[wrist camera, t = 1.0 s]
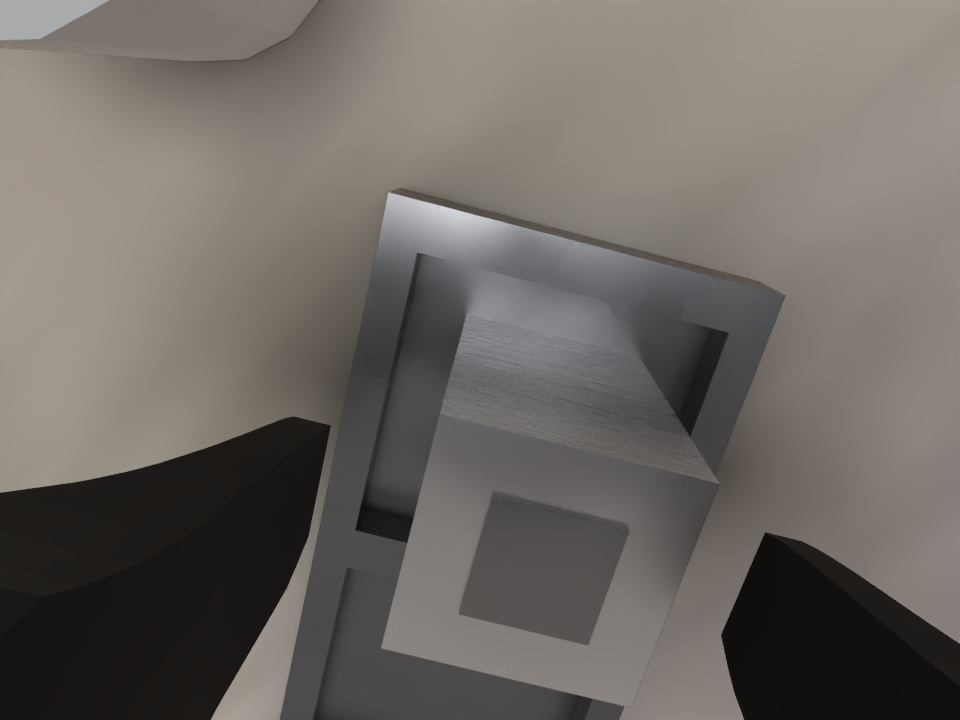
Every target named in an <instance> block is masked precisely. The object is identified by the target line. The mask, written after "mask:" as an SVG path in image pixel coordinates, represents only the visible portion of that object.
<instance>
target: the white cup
mask: <svg viewBox="0 0 960 720" xmlns="http://www.w3.org/2000/svg"><path fill="white" fill-rule="evenodd" d="M318 1H319V0H0V48H8V49H23V50H37V51H52V52H66V53H80V54H95V55H109V56H124V57H138V58H152V59H167V60H181V61H219V60H246V59H248V58H250V57H251V56H253V55H255V54H257V53H259V52H261V51H263V50H265V49H267V48H269V47H271V46H273V45H275V44H277V43H279V42H281V41H282V40H284V39H286V38H288V37H290V36H292V35H293V33H294V32H295V31H296V29H297V28H298V27H299V26H300V24H301V23H302V22H303V21H304V19H305V18H306V17H307V15H308V14H309V13H310V12H311V10H312V9H313V8H314V6H315V5H316V4H317V3H318Z"/></svg>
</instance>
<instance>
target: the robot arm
mask: <svg viewBox="0 0 960 720" xmlns="http://www.w3.org/2000/svg"><path fill="white" fill-rule="evenodd" d="M330 427H331V426H330V425H326V424H322V423H318V422H314V421H310V420H306V419H302V418H298V417H289V418H285V419H282V420H279V421H277V422H274V423H271V424H269V425H266V426H264V427H261V428H259V429H256V430H254V431H251V432H248V433H246V434H243V435H241V436H238V437H235V438H233V439H230V440H227V441H225V442H222V443H220V444H217V445H214V446H211V447H208V448H205V449H202V450H199V451H196V452H193V453H190V454H187V455H184V456H180V457H177V458H174V459H171V460H168V461H165V462H162V463H159V464H155V465H151V466H148V467H144V468H140V469H136V470H132V471H128V472H124V473H119V474H114V475H110V476H105V477H101V478H96V479H91V480H86V481H80V482H75V483H68V484H60V485H53V486H46V487H39V488H32V489H25V490H18V491H11V492H3V493H0V720H211V718H212V716H213V714H214V712H215V710H216V708H217V707H218V705H219V703H220V702H221V700H222V698H223V696H224V695H225V693H226V691H227V690H228V688H229V686H230V684H231V683H232V681H233V679H234V678H235V676H236V674H237V673H238V671H239V669H240V667H241V666H242V664H243V662H244V661H245V659H246V657H247V656H248V654H249V652H250V650H251V649H252V647H253V645H254V644H255V642H256V640H257V639H258V637H259V635H260V633H261V632H262V630H263V628H264V627H265V625H266V623H267V621H268V620H269V618H270V616H271V615H272V613H273V611H274V609H275V608H276V606H277V604H278V602H279V601H280V599H281V597H282V595H283V594H284V592H285V590H286V588H287V586H288V584H289V582H290V579H291V577H292V575H293V572H294V570H295V568H296V565H297V563H298V560H299V558H300V556H301V553H302V551H303V548H304V546H305V543H306V541H307V539H308V536H309V531H310V526H311V521H312V516H313V511H314V506H315V501H316V496H317V491H318V486H319V481H320V476H321V471H322V466H323V461H324V456H325V451H326V446H327V441H328V436H329V432H330ZM721 636H722V641H723V646H724V651H725V655H726V660H727V665H728V669H729V673H730V677H731V681H732V685H733V689H734V692H735V696H736V698H737V701H738V704H739V707H740V709H741V712H742V714H743V717H744V720H960V644H959V643H958V642H956V641H955V640H953V639H952V638H950V637H949V636H947V635H946V634H944V633H943V632H941V631H940V630H938V629H937V628H935V627H934V626H932V625H931V624H929V623H928V622H926V621H925V620H923V619H922V618H920V617H919V616H917V615H916V614H914V613H913V612H912V611H910V610H909V609H907V608H906V607H904V606H903V605H901V604H900V603H898V602H897V601H896V600H894V599H893V598H891V597H890V596H888V595H887V594H885V593H884V592H882V591H881V590H880V589H878V588H877V587H875V586H874V585H872V584H871V583H869V582H868V581H866V580H865V579H863V578H862V577H860V576H859V575H857V574H856V573H855V572H853V571H852V570H850V569H848V568H847V567H845V566H844V565H842V564H841V563H839V562H838V561H836V560H834V559H833V558H831V557H830V556H828V555H826V554H825V553H823V552H821V551H819V550H818V549H816V548H814V547H812V546H810V545H808V544H806V543H804V542H802V541H798V540H794V539H790V538H786V537H782V536H778V535H774V534H770V533H766V532H765V534H764V536H763V539H762V541H761V543H760V546H759V548H758V550H757V553H756V555H755V557H754V560H753V562H752V564H751V567H750V569H749V571H748V574H747V576H746V578H745V581H744V583H743V585H742V588H741V590H740V592H739V595H738V597H737V599H736V602H735V604H734V606H733V609H732V611H731V613H730V616H729V618H728V620H727V623H726V625H725V628H724V630H723V632H722V635H721Z"/></svg>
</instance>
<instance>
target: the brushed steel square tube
mask: <svg viewBox="0 0 960 720" xmlns="http://www.w3.org/2000/svg"><path fill="white" fill-rule="evenodd" d="M718 486H719V482H718V481H717V479H716V477H715V476H714V474H713V473H712V471H711V469H710V468H709V466H708V465H707V463H706V462H705V460H704V458H703V457H702V455H701V454H700V452H699V450H698V449H697V447H696V446H695V444H694V443H693V441H692V439H691V438H690V436H689V435H688V433H687V432H686V430H685V428H684V427H683V425H682V424H681V422H680V420H679V419H678V417H677V416H676V414H675V413H674V411H673V409H672V408H671V406H670V405H669V403H668V401H667V400H666V398H665V397H664V395H663V394H662V392H661V390H660V389H659V387H658V386H657V384H656V382H655V381H654V379H653V378H652V376H651V375H650V373H649V371H648V370H647V368H646V367H645V365H644V364H643V362H642V360H641V359H638V358H634V357H630V356H627V355H623V354H619V353H615V352H611V351H607V350H603V349H599V348H595V347H591V346H587V345H583V344H580V343H576V342H572V341H568V340H564V339H560V338H556V337H552V336H548V335H544V334H540V333H536V332H533V331H529V330H525V329H521V328H517V327H513V326H509V325H505V324H501V323H497V322H493V321H489V320H486V319H482V318H478V317H474V316H470V315H466V318H465V322H464V326H463V329H462V333H461V337H460V341H459V344H458V348H457V352H456V356H455V359H454V363H453V367H452V370H451V374H450V378H449V382H448V385H447V389H446V393H445V397H444V400H443V404H442V408H441V412H440V415H439V419H438V423H437V427H436V431H435V435H434V439H433V443H432V447H431V451H430V455H429V459H428V463H427V467H426V471H425V475H424V479H423V483H422V487H421V491H420V495H419V499H418V503H417V507H416V511H415V515H414V519H413V523H412V527H411V531H410V535H409V539H408V543H407V547H406V551H405V555H404V559H403V563H402V567H401V570H400V574H399V578H398V582H397V586H396V590H395V594H394V598H393V602H392V606H391V610H390V614H389V618H388V622H387V626H386V630H385V634H384V638H383V642H382V646H381V648H382V649H386V650H391V651H395V652H399V653H403V654H407V655H412V656H416V657H420V658H424V659H428V660H433V661H437V662H441V663H445V664H449V665H454V666H458V667H462V668H466V669H470V670H474V671H479V672H483V673H487V674H491V675H495V676H500V677H504V678H508V679H512V680H516V681H521V682H525V683H529V684H533V685H537V686H542V687H546V688H550V689H554V690H558V691H563V692H567V693H571V694H575V695H579V696H584V697H588V698H592V699H596V700H600V701H605V702H609V703H613V704H617V705H621V706H626V707H630V708H631V706H632V704H633V701H634V699H635V696H636V693H637V691H638V688H639V686H640V683H641V681H642V678H643V676H644V673H645V671H646V668H647V666H648V663H649V661H650V658H651V656H652V653H653V651H654V648H655V645H656V643H657V640H658V638H659V635H660V633H661V630H662V628H663V625H664V623H665V620H666V618H667V615H668V613H669V610H670V608H671V605H672V603H673V600H674V598H675V595H676V592H677V590H678V587H679V585H680V582H681V580H682V577H683V575H684V572H685V570H686V567H687V565H688V562H689V560H690V557H691V555H692V552H693V550H694V547H695V545H696V542H697V539H698V537H699V534H700V532H701V529H702V527H703V524H704V522H705V519H706V517H707V514H708V512H709V509H710V507H711V504H712V502H713V499H714V497H715V494H716V491H717V489H718Z"/></svg>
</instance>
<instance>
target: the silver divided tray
mask: <svg viewBox="0 0 960 720" xmlns="http://www.w3.org/2000/svg"><path fill="white" fill-rule="evenodd" d="M784 298H785V295H783V294H781V293H779V292H778V291H776V290H774V289H772V288H770V287H768V286H766V285H764V284H762V283H760V282H758V281H754V280H750V279H746V278H742V277H738V276H734V275H731V274H727V273H723V272H719V271H715V270H711V269H708V268H704V267H700V266H696V265H692V264H688V263H685V262H681V261H677V260H673V259H669V258H665V257H662V256H658V255H654V254H650V253H646V252H642V251H639V250H635V249H631V248H627V247H623V246H619V245H615V244H612V243H608V242H604V241H600V240H596V239H592V238H589V237H585V236H581V235H577V234H573V233H569V232H566V231H562V230H558V229H554V228H550V227H546V226H543V225H539V224H535V223H531V222H527V221H523V220H520V219H516V218H512V217H508V216H504V215H500V214H497V213H493V212H489V211H485V210H481V209H477V208H473V207H470V206H466V205H462V204H458V203H454V202H450V201H447V200H443V199H439V198H435V197H431V196H427V195H424V194H420V193H416V192H412V191H408V190H404V189H401V188H400V189H397V190H394V191H391V192H388V197H387V202H386V207H385V212H384V217H383V222H382V226H381V231H380V236H379V241H378V246H377V251H376V256H375V260H374V265H373V270H372V275H371V280H370V285H369V290H368V294H367V299H366V304H365V309H364V314H363V319H362V324H361V328H360V333H359V338H358V343H357V348H356V353H355V358H354V362H353V367H352V372H351V377H350V382H349V387H348V392H347V396H346V401H345V406H344V411H343V416H342V421H341V426H340V430H339V435H338V440H337V445H336V450H335V455H334V460H333V464H332V469H331V474H330V479H329V484H328V489H327V494H326V498H325V503H324V508H323V513H322V518H321V523H320V528H319V532H318V537H317V542H316V547H315V552H314V557H313V562H312V566H311V571H310V576H309V581H308V586H307V591H306V596H305V601H304V605H303V610H302V615H301V620H300V625H299V630H298V635H297V639H296V644H295V649H294V654H293V659H292V664H291V669H290V673H289V678H288V683H287V688H286V693H285V698H284V703H283V707H282V712H281V717H280V720H619V719H620V716H621V713H622V711H623V708H624V706H621V705H617V704H613V703H609V702H605V701H600V700H596V699H592V698H588V697H584V696H579V695H575V694H571V693H567V692H563V691H558V690H554V689H550V688H546V687H542V686H537V685H533V684H529V683H525V682H521V681H516V680H512V679H508V678H504V677H500V676H495V675H491V674H487V673H483V672H479V671H474V670H470V669H466V668H462V667H458V666H454V665H449V664H445V663H441V662H437V661H433V660H428V659H424V658H420V657H416V656H412V655H407V654H403V653H399V652H395V651H391V650H386V649H382V648H381V646H382V642H383V638H384V634H385V630H386V626H387V622H388V618H389V614H390V610H391V606H392V602H393V598H394V594H395V590H396V586H397V582H398V578H399V574H400V570H401V567H402V563H403V559H404V555H405V551H406V547H407V543H408V539H409V535H410V531H411V527H412V523H413V519H414V515H415V511H416V507H417V503H418V499H419V495H420V491H421V487H422V483H423V479H424V475H425V471H426V467H427V463H428V459H429V455H430V451H431V447H432V443H433V439H434V435H435V431H436V427H437V423H438V419H439V415H440V412H441V408H442V404H443V400H444V397H445V393H446V389H447V385H448V382H449V378H450V374H451V370H452V367H453V363H454V359H455V356H456V352H457V348H458V344H459V341H460V337H461V333H462V329H463V326H464V322H465V318H466V315H470V316H474V317H478V318H482V319H486V320H489V321H493V322H497V323H501V324H505V325H509V326H513V327H517V328H521V329H525V330H529V331H533V332H536V333H540V334H544V335H548V336H552V337H556V338H560V339H564V340H568V341H572V342H576V343H580V344H583V345H587V346H591V347H595V348H599V349H603V350H607V351H611V352H615V353H619V354H623V355H627V356H630V357H634V358H638V359H641V360H642V362H643V364H644V365H645V367H646V368H647V370H648V371H649V373H650V375H651V376H652V378H653V379H654V381H655V382H656V384H657V386H658V387H659V389H660V390H661V392H662V394H663V395H664V397H665V398H666V400H667V401H668V403H669V405H670V406H671V408H672V409H673V411H674V413H675V414H676V416H677V417H678V419H679V420H680V422H681V424H682V425H683V427H684V428H685V430H686V432H687V433H688V435H689V436H690V438H691V439H692V441H693V443H694V444H695V446H696V447H697V449H698V450H699V452H700V454H701V455H702V457H703V458H704V460H705V462H706V463H707V465H708V466H709V468H710V469H711V471H712V473H713V474H714V476H715V474H716V471H717V469H718V466H719V464H720V461H721V459H722V456H723V453H724V451H725V448H726V446H727V443H728V441H729V438H730V436H731V433H732V430H733V428H734V425H735V423H736V420H737V418H738V415H739V413H740V410H741V408H742V405H743V402H744V400H745V397H746V395H747V392H748V390H749V387H750V385H751V382H752V379H753V377H754V374H755V372H756V369H757V367H758V364H759V362H760V359H761V357H762V354H763V351H764V349H765V346H766V344H767V341H768V339H769V336H770V334H771V331H772V328H773V326H774V323H775V321H776V318H777V316H778V313H779V311H780V308H781V306H782V303H783V300H784Z"/></svg>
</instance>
